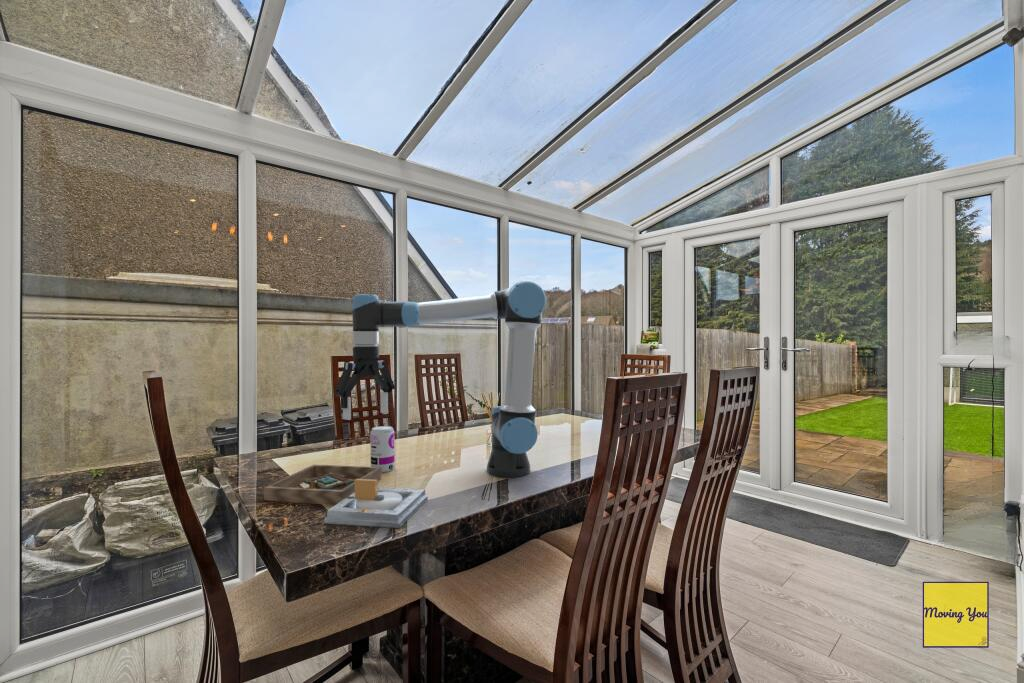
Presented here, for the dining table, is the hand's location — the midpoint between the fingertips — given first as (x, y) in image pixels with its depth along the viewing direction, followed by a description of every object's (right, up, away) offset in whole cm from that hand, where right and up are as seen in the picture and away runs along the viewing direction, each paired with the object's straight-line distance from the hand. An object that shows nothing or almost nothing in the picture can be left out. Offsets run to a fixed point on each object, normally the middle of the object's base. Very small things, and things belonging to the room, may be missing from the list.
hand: (366, 416), depth 139 cm
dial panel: (+8, -23, -15) cm, 29 cm away
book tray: (-13, -23, +3) cm, 27 cm away
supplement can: (-2, -23, +23) cm, 33 cm away
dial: (+8, -22, -15) cm, 27 cm away
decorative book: (-14, -24, +2) cm, 28 cm away
